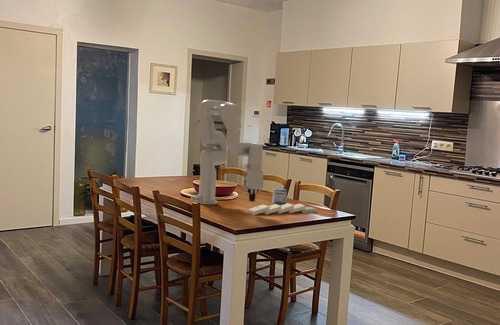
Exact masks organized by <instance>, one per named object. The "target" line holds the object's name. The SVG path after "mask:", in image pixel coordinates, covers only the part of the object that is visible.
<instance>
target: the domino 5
mask: <svg viewBox="0 0 500 325" xmlns="http://www.w3.org/2000/svg"><path fill="white" fill-rule="evenodd" d="M317 209H318V208H315V207H312V206H305V209H304V210H300V211H298V212H299V213H301V212H302V213H301V214H307V213H308V212H310V213H317V211H318V210H317Z"/></svg>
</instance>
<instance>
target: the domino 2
mask: <svg viewBox="0 0 500 325" xmlns="http://www.w3.org/2000/svg"><path fill="white" fill-rule="evenodd" d="M268 206H269V209H270V210H268V211H265V212H262V214H265V215H266V216H267V215H269V214H273V213H276V211H279V210H282V208H281V204H276V203H273V204H271V205H268Z"/></svg>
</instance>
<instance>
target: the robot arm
mask: <svg viewBox="0 0 500 325" xmlns="http://www.w3.org/2000/svg"><path fill="white" fill-rule="evenodd" d="M242 112H243V111H242V108H241V107H240V105H238V104H236V103H233V102H228V101H224V100H215V99H206V100H205V99H204V100H203V101H201V102H200V103H199V105H198V107H197V117H198V123H199V136H200V142H201V145H202V146H203V147H207V149H204V150H202V151H200V153H199V168H200V169H199V172H200V173H199V188H198V194H196V195H191V196H190V200H195V203H196V202H197V203H196V204H199V203H200V205H217V204H218V200H216V186H217V169H216V167H215V166H220V165H221V166H222V165H224V164H225V163H226V162H227V160H228V150H229V151H230V153H231V154H232V155H233V156H235V157H236V158H237V157H239V158H241V157H242V158H243V157H244V158H245V157H247V164H246V165H245V169H246V170H245V173H244V178H243V191H246V192H247V193H248V201H249V202H252V203H253V202H255V201H256V195H257V193H258V192H259V191H262V190H263V187H264V172H263V170H262V163H263V152H264V151H263V150H264V149H263V148H264V146H263V145H262V144H256V143H255V144H254V143H252V142H251V143H250V142H239V139H238V138H237V135H236V133H237V132H239V130H240V129H241V128H242V124H241V122H240V118H241V117H242ZM211 115H214V116H219V117H220V120H221V121H222V123H223V125H224V127H225V129H226V131H227V132H226V136H225V134H224V132H223V131H220V130H216V129H215V123H214V119H213V117H212V116H211ZM211 147H213V148H211ZM227 147H228V148H229V149H227Z"/></svg>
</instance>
